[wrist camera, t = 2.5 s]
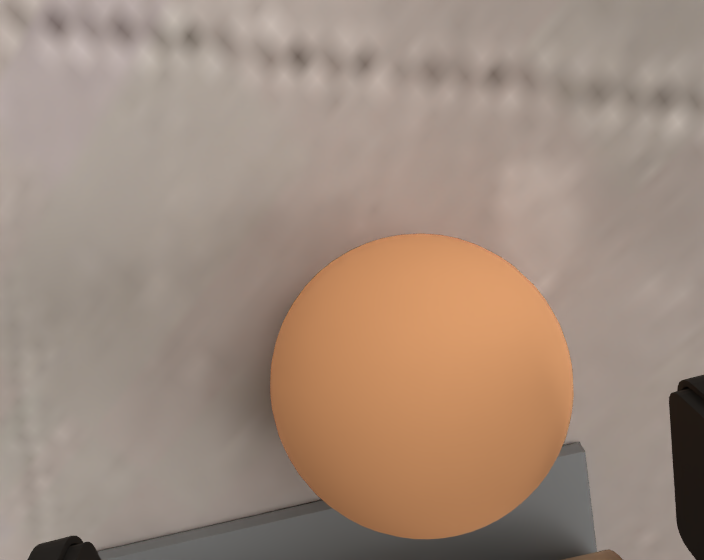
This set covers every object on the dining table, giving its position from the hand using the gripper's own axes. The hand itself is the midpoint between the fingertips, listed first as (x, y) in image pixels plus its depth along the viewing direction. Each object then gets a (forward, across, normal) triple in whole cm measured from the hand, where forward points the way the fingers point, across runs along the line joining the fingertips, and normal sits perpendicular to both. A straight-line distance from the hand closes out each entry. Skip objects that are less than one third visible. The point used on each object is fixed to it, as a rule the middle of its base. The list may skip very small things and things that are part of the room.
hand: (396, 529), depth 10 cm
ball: (+3, -1, 0) cm, 4 cm away
